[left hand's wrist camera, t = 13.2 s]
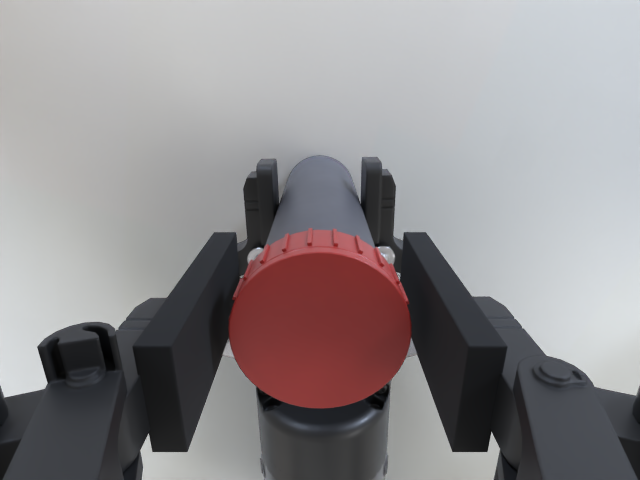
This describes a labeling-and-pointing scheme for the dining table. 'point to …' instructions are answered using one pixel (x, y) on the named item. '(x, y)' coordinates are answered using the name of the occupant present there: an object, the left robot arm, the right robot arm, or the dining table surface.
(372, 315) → the lid
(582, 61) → the dining table surface
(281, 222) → the jar
